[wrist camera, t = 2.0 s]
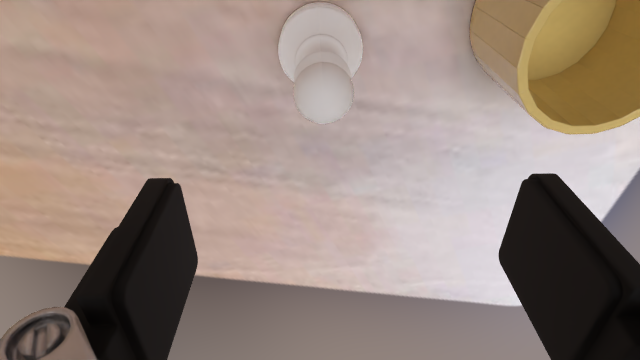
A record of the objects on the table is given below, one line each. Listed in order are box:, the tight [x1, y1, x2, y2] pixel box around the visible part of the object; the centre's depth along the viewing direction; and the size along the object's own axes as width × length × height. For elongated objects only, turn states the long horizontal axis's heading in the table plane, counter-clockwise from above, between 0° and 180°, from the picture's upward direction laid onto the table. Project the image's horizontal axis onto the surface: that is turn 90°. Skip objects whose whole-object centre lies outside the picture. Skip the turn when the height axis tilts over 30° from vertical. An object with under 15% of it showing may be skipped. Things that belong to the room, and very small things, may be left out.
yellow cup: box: [470, 0, 640, 134], centre depth 21 cm, size 9×9×7 cm
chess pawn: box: [278, 2, 363, 124], centre depth 21 cm, size 5×5×9 cm
